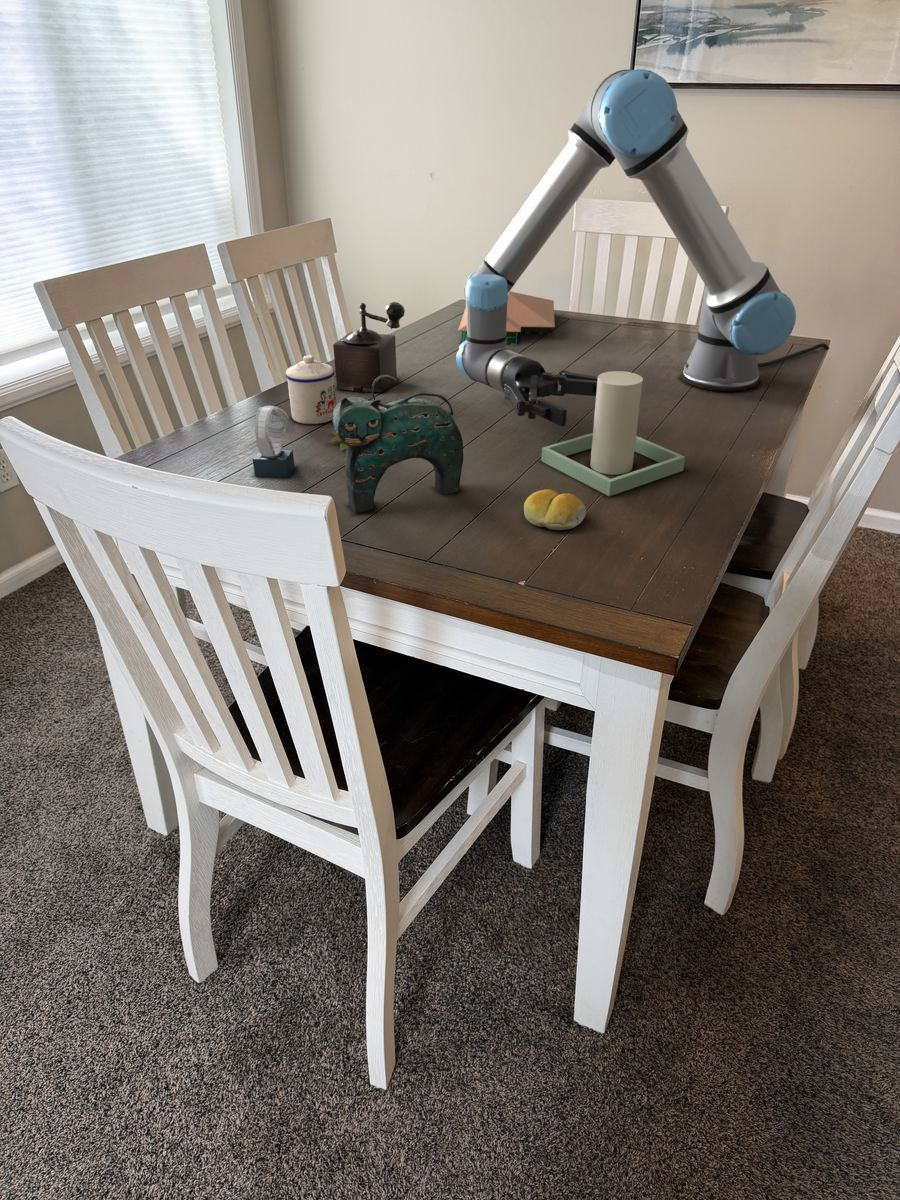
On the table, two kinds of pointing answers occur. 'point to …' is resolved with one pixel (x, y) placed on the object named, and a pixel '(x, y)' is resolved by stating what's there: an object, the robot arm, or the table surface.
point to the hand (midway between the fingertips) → (596, 409)
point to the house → (522, 313)
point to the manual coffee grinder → (368, 354)
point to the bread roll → (554, 510)
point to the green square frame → (665, 467)
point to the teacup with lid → (311, 391)
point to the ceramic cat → (396, 442)
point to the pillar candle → (615, 422)
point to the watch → (272, 444)
